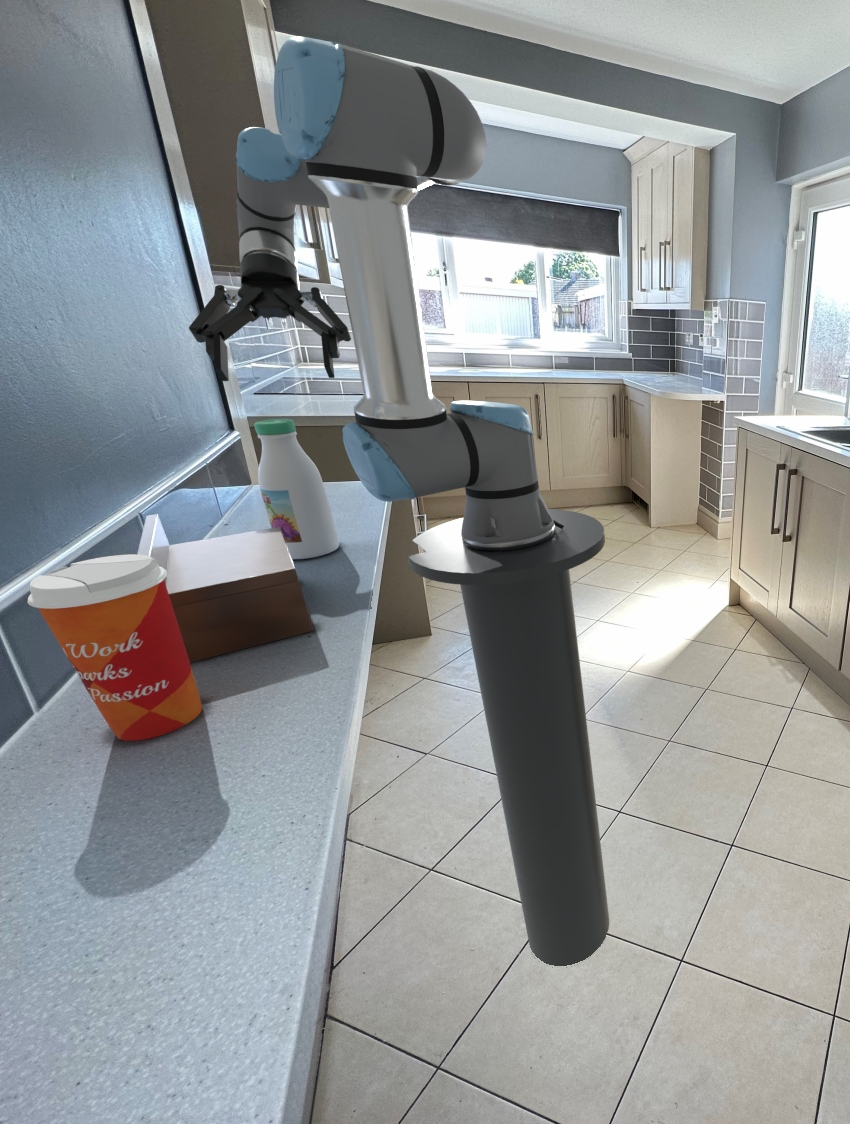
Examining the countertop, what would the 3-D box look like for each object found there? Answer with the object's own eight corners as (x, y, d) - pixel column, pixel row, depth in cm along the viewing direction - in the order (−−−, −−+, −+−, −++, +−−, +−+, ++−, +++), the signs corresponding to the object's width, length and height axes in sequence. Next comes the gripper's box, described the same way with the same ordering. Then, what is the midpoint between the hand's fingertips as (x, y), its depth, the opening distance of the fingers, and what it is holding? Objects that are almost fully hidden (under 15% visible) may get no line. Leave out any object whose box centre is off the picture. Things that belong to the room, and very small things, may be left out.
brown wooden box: (296, 581, 84) (271, 497, 79) (314, 631, 71) (284, 534, 67) (181, 605, 77) (146, 515, 72) (178, 665, 64) (135, 560, 60)
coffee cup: (69, 747, 52) (-14, 589, 46) (159, 692, 60) (98, 550, 54) (162, 752, 52) (91, 593, 46) (241, 695, 59) (189, 553, 54)
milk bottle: (333, 538, 99) (300, 414, 92) (346, 551, 94) (311, 421, 87) (276, 550, 94) (235, 420, 87) (286, 564, 89) (243, 427, 82)
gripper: (362, 289, 108) (375, 386, 102) (183, 285, 98) (185, 392, 92) (352, 254, 102) (365, 355, 95) (159, 246, 92) (159, 358, 85)
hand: (277, 373), depth 93 cm, fingers open, 13 cm apart
